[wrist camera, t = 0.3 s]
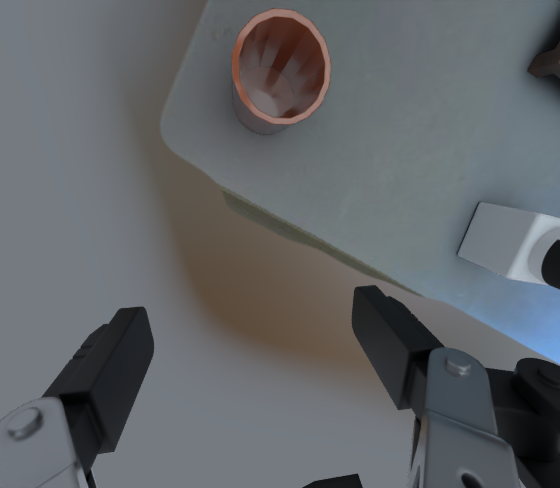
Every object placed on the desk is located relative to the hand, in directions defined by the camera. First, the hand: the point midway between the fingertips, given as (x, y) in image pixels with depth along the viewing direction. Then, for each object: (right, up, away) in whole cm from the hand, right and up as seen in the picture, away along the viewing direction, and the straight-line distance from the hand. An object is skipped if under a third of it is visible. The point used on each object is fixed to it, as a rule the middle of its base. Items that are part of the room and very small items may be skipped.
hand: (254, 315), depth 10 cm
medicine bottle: (+28, +4, +24) cm, 37 cm away
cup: (0, +16, +15) cm, 22 cm away
